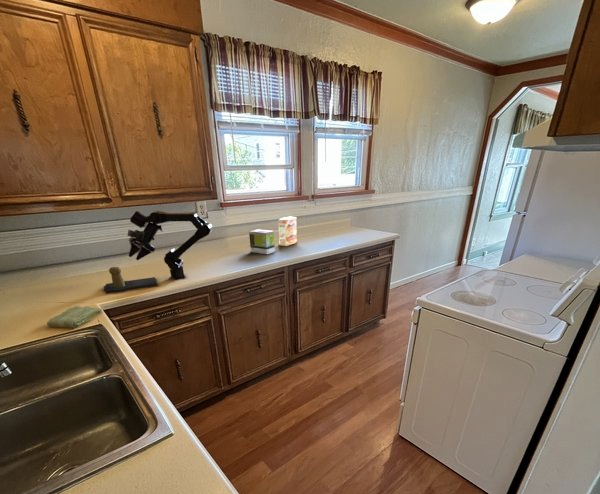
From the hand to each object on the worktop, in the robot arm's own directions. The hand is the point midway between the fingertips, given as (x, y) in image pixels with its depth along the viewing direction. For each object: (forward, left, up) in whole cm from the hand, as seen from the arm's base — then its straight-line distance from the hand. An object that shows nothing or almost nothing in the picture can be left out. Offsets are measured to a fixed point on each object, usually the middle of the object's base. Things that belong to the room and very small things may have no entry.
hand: (133, 258), depth 169 cm
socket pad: (+4, +4, -14) cm, 15 cm away
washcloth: (+26, +38, -14) cm, 48 cm away
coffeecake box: (-110, -47, -14) cm, 121 cm away
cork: (+9, +4, -14) cm, 17 cm away
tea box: (-83, -32, -14) cm, 91 cm away
